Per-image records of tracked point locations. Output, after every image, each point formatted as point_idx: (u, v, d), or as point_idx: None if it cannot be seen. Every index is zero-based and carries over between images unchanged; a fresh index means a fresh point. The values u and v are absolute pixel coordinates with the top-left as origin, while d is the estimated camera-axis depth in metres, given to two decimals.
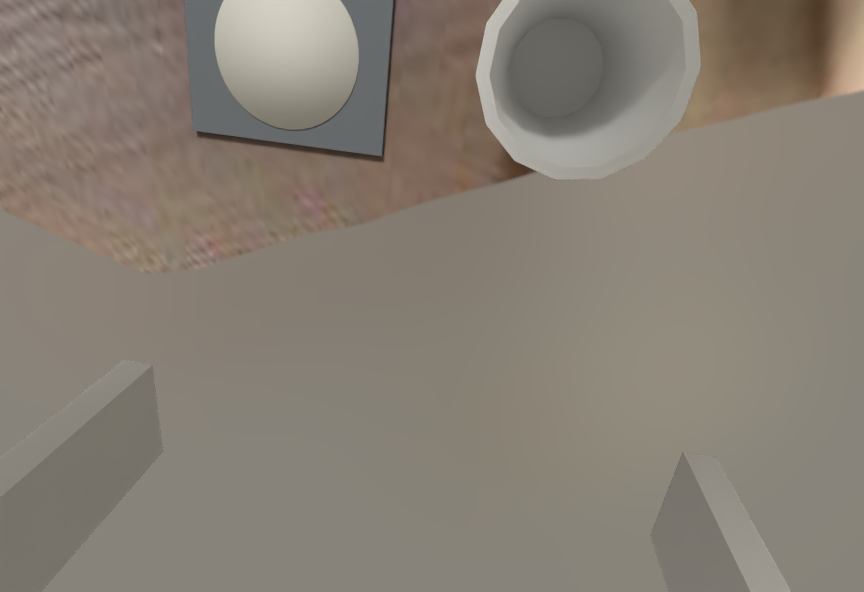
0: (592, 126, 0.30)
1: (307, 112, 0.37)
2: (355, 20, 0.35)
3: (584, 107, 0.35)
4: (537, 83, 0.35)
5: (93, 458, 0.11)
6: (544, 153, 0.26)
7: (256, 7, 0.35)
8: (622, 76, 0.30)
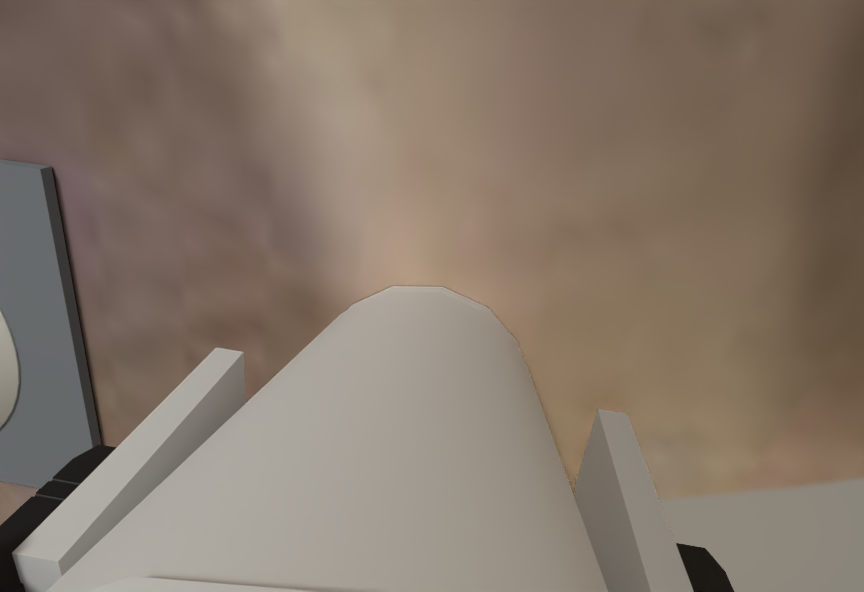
0: None
1: None
2: None
3: None
4: None
5: (201, 436, 0.12)
6: None
7: None
8: None
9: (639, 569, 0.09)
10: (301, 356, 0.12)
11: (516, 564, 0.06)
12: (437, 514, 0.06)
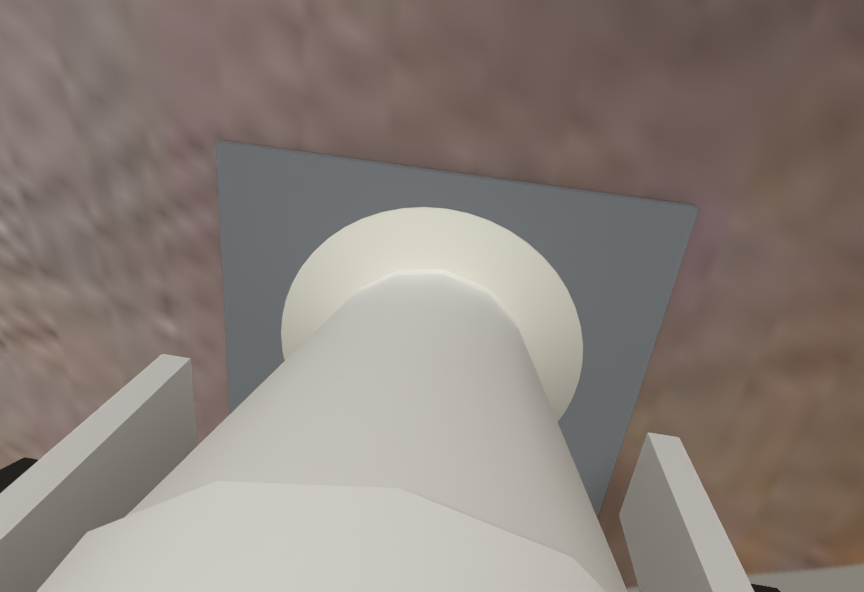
0: None
1: None
2: (584, 310, 0.16)
3: None
4: None
5: (138, 447, 0.12)
6: None
7: (373, 276, 0.17)
8: None
9: None
10: (320, 331, 0.13)
11: (519, 480, 0.07)
12: (453, 443, 0.07)
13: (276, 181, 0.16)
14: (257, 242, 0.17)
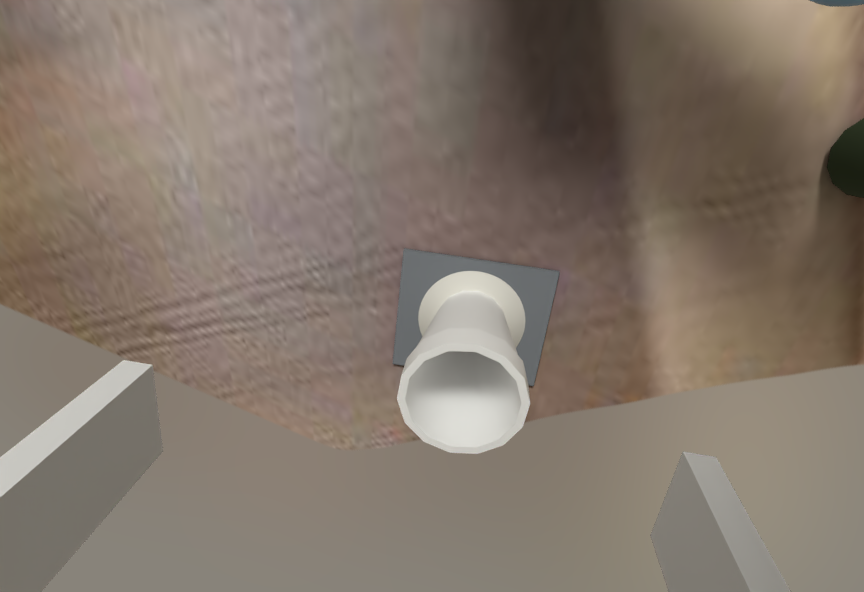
0: (487, 384, 0.45)
1: None
2: (525, 305, 0.48)
3: None
4: None
5: (93, 458, 0.11)
6: (445, 429, 0.41)
7: (453, 293, 0.49)
8: None
9: None
10: (444, 309, 0.45)
11: (497, 333, 0.39)
12: (485, 327, 0.40)
13: (422, 262, 0.48)
14: (413, 281, 0.49)
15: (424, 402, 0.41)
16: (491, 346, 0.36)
